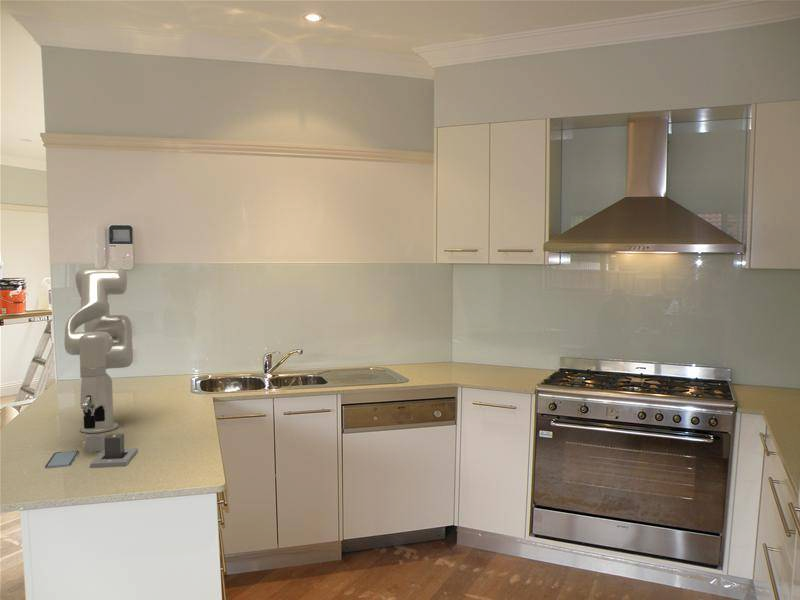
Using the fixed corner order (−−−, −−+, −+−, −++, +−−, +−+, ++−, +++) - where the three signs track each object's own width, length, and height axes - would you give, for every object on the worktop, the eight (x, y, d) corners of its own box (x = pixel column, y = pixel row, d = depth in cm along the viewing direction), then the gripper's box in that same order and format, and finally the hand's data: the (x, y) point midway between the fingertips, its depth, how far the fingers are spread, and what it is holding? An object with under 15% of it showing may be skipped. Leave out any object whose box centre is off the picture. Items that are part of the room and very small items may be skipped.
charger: (109, 456, 194) (108, 434, 194) (124, 455, 195) (123, 433, 195) (104, 460, 190) (104, 438, 190) (120, 460, 191) (119, 437, 190)
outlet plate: (104, 453, 199) (104, 449, 198) (137, 451, 200) (137, 447, 200) (90, 467, 185) (90, 463, 185) (125, 465, 186) (125, 461, 186)
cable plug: (85, 449, 203) (84, 434, 203) (105, 448, 204) (105, 433, 204) (81, 452, 199) (81, 437, 199) (102, 451, 200) (101, 436, 200)
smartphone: (43, 467, 184) (54, 452, 198) (43, 470, 184) (54, 454, 198) (71, 465, 186) (79, 450, 200) (71, 467, 186) (79, 452, 200)
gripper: (89, 368, 208) (91, 419, 209) (71, 376, 191) (72, 431, 192) (113, 368, 209) (114, 418, 210) (96, 375, 192) (98, 430, 193)
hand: (94, 424), depth 201 cm, fingers open, 9 cm apart
